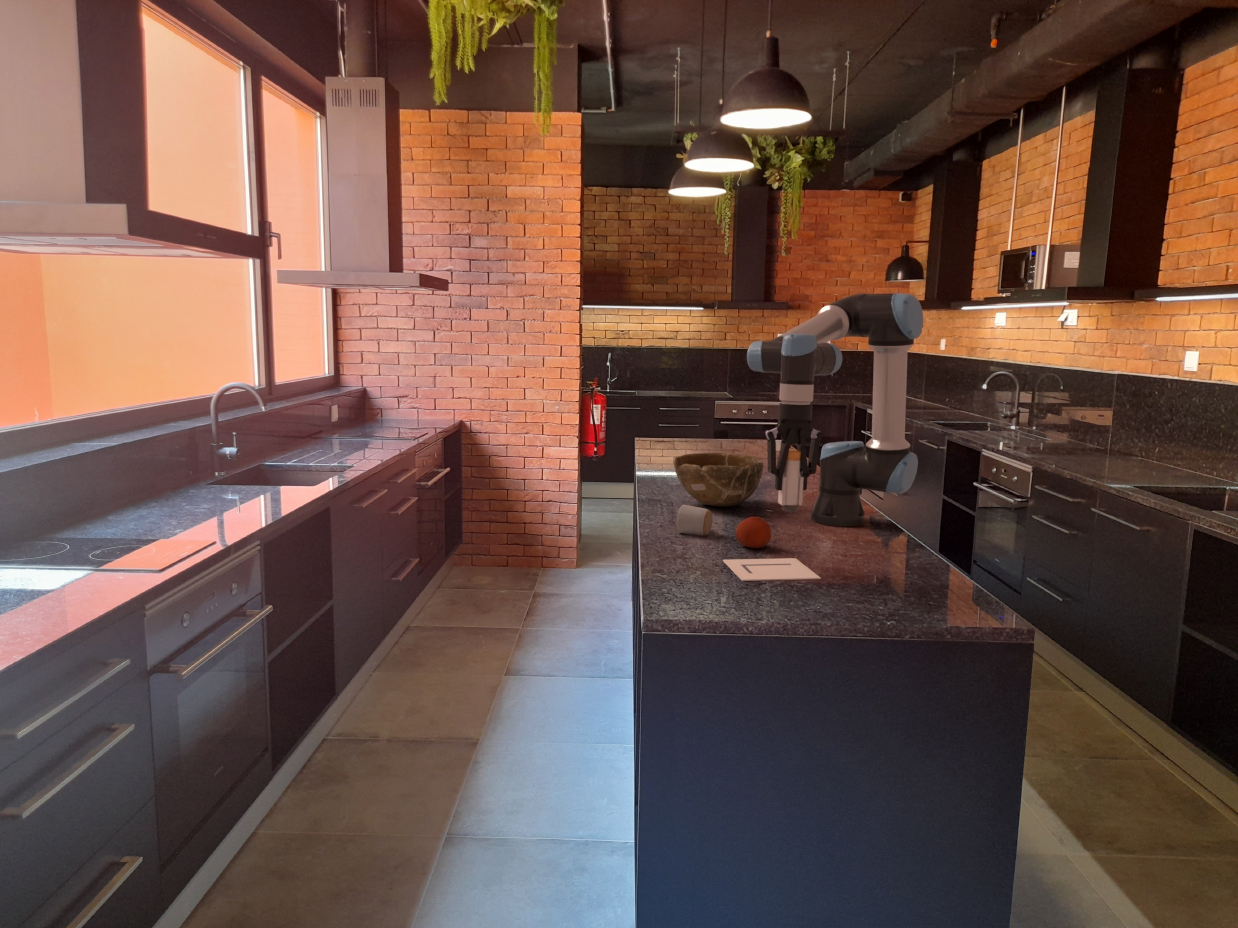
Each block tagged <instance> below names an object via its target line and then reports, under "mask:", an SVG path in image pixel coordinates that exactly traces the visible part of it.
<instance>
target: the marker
mask: <svg viewBox="0 0 1238 928" xmlns="http://www.w3.org/2000/svg"><path fill="white" fill-rule="evenodd" d="M800 458H801V451H799V450H797V449H789V453H788V457H787V462H786V466H785V471H784V475H783V476H785V477H787V479H786V497H785V505H781V507H782V508H781V511H782V512H785V513H786V512H787V513H797V512H798V506H799V505H798V488H799V475H800Z"/></svg>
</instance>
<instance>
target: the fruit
mask: <svg viewBox="0 0 1238 928" xmlns="http://www.w3.org/2000/svg"><path fill="white" fill-rule="evenodd" d="M771 530H772V528H771V526H770V524H769V522H768V521H766V520H765V519H763V518H762V517H761V516H756V515H755V516H750V517H747V518H746V519H745V518H744V520H742V521H741V522H739V524H738V525H737V527H736V531H735V537H736V539H737V541H738V542H739V543H740V544H741V545H742V546H743V547H746V548H751V549H761V548H763V547H765V546H767V545H768V543H770V541H771V539H772V531H771Z"/></svg>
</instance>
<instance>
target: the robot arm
mask: <svg viewBox="0 0 1238 928" xmlns="http://www.w3.org/2000/svg"><path fill="white" fill-rule="evenodd" d="M923 312H924V311H923V308H922V306H921V302H920V301H919V299H918V297H916V296H915V295H914V294H911V293H902V292H901V293H900V292H889V293H883V292H882V293H856V294H852V295H848V296H846V297H842V298H840V299H838V300H836V301H833V302H831V303H829V304H827V305H825V306H824V307H821V309H820V310H819V311H818V312H817V315H815V316H813V317H812V318H809V319H808V320H805V321H803V322H802V323H799V325H796V326H795V327H792V328H791V329H789V330H787V331H785V332H784V333H782V334H781V335H778V336H777V337H775V338H773V339H770V340H767V341H766V340H757V341H753V342H752V343H751V344H750V345H749V347H748V349H747V353H746V360H747V362H746V363H747V365H748V367H749V369H750V370H751V371H753V372H760V373H764V374H765V373H768V374H769V373H771V374H772V373H773V374H780V380H779V381H780V382H779V398H778V399H779V401H780V403H779V404H778V413H777V415H778V417H777V423H776V425H775V428H772V429H770V430H768V429H766V430H764V435H765V437H766V442H767V472H768V473H770V474H772V475H774V476H775V479H774V480H775V481H774V482H775V483H774V484H775V485H774V488H775V490H776V491H778V495H777V504H779V505H780V506H782V505H785V497H786V479H787V477H785V476H784V471H785V466H786V462H787V457H788V453H789V450H791V446H792V444H795V446H796V450H799V451H801V458H800V471H799V488H798V506H803V495H804V491H807V488H808V478H809V477H810V476H811V475H814V474H816V473H817V467H818V466H817V465H818V461H819V463H820V464H819V479H818V480H819V481H818V494H817V497H816V499H815V502H814V504H813V506H812V510H811V512H810V513H811V514H810V519H811V521H813V522H815V523H818V524H822V525H826V526H834V527H857V526H862V525H864V524H865V522H866V515H865V510H864V506H863V502H862V499H861V490H869V491H875V492H881V493H886V494H896V495H897V494H899V495H902V494H904V493H907V491H908V490H909V489H910V488H911V487H912V486H913V483H914V481H915V478H916V475H917V472H918V466H919V459H918V455H917V454H916V453H914V452H911V443H909V441H908V440H906V437H905V434H906V412H907V411H906V410H907V409H906V408H907V407H906V406H907V405H906V404H907V381H908V380H907V377H908V376H907V374H908V373H907V372H908V351H909V350H910V349H911V348H912V347H913V346H914V344H915V339H918V338H919V337H920V336H921V335H922V334H923V328H924V314H923ZM848 337H852V338H854V337H855V338H868V343H867V346H868V347H869V348H870V349H871V350H872V351H873V377H872V378H873V379H872V382H873V383H872V384H873V385H872V414H871V416H872V417H871V420H872V421H871V438H869V440H868V441H867V442H866V444H864V442H863V441H861V440H859V441H857V440H850V441H849V440H847V441H836V442H828V443H825V444H823V446H822V448H821V452H820V445H821V440H822V439H823V436H824V432H822V431H820V430H818V429H815V428H814V426H813V424H812V420H813V419H812V418H813V405H812V404H811V403H812V402H813V401H814V391H815V390H814V386H815V385H814V384H815V376H824V377H825V376H828V375H833V374H834V373H836V372H837V371H839V370H840V368H841V366H842V363H843V353H842V351H841V349H840V348H839V347H838V346H837V345H836V344H834V343H829V342H831V341H838V340H841V339H843V338H848ZM777 435H779V437H780V438H781V441H780V449H779V454H778V456H777V443H776V442H777V441H776V439H777V437H778V436H777ZM809 436H810V438H811V440H810V446H809V451H808V452H809V453H808V456H807V449H806V447H807V441H806V440H807V439H808V437H809ZM819 452H820V457H819ZM777 457H778V458H777ZM818 458H819V460H818Z"/></svg>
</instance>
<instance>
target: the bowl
mask: <svg viewBox="0 0 1238 928" xmlns="http://www.w3.org/2000/svg"><path fill="white" fill-rule="evenodd" d="M673 467H674V472H675V475H676V476H677V479H678V481H679V483H680V485H681V486H682V487H683V488H684V489H685V491H686V492H687V493H688V494H689V495H690V496H691V497H692V498H693V499H695V500H696V501H697V502H699V503H700V504H702V505H704V506H705V505H707V506H712V507H727V508H728V507H733V506H738V505H739V504H741V503H743V502H745V501H746V500H747V499H748V498H750V497H751V496H752V495H753V494H754V493H755V492H756V489H757V488H758V485H759V484H760V480H761V478H762V476H763V472H764V471H763V470H764V462H762V460H760V459H758V458H756V457H754V456H753V455H747V454H744V455H743V454H739V453H732V452H731V453H729V452H728V453H725V452H700V453H699V452H698V453H695V452H694V453H686V454H681V455H679V456H675V457H674V458H673Z"/></svg>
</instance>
